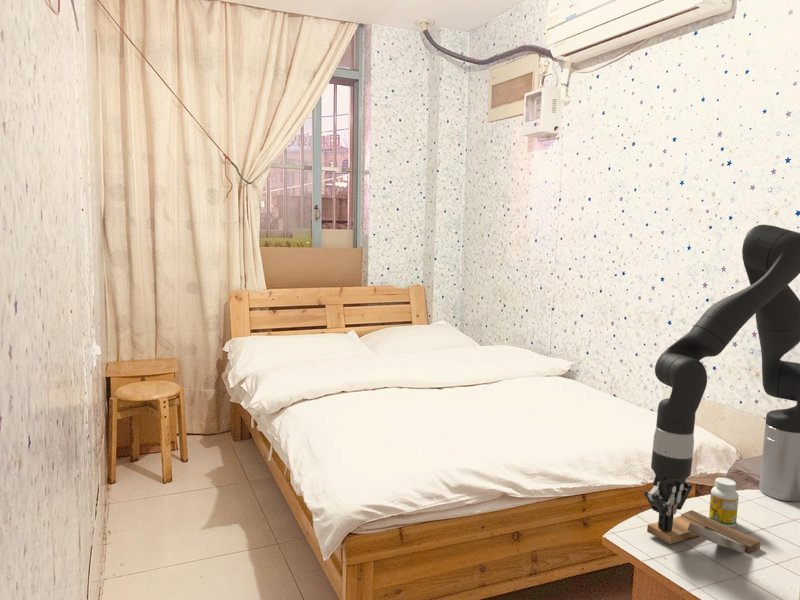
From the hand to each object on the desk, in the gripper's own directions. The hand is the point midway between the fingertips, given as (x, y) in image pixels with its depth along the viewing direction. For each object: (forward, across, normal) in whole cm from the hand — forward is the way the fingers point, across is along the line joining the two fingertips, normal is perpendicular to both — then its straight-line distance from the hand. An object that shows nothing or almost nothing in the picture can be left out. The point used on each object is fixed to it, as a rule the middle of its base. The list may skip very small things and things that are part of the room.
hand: (664, 530), depth 121 cm
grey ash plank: (-1, +4, -8) cm, 9 cm away
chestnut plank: (+2, +4, 0) cm, 5 cm away
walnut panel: (+2, +13, -4) cm, 13 cm away
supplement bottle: (+2, +19, -2) cm, 19 cm away
